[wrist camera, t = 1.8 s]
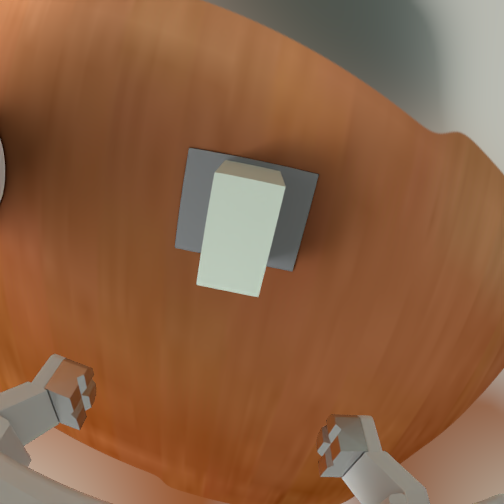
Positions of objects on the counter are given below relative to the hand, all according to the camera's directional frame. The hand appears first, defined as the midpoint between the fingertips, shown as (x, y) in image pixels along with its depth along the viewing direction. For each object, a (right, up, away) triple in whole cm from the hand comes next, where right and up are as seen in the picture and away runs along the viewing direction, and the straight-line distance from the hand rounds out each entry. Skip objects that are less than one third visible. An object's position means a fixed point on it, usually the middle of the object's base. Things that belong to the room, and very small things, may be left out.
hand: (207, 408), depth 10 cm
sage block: (+1, +9, +20) cm, 22 cm away
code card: (+1, +9, +21) cm, 23 cm away
